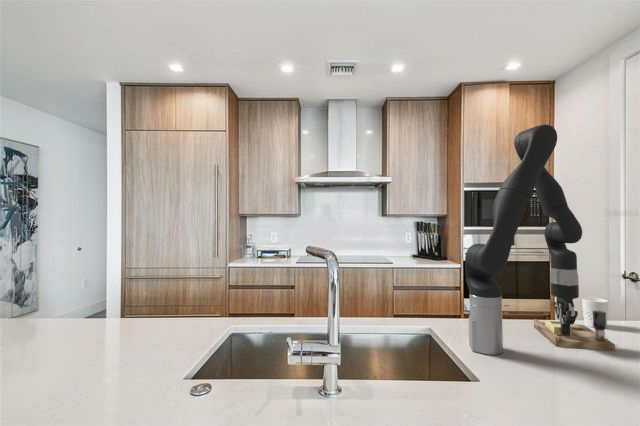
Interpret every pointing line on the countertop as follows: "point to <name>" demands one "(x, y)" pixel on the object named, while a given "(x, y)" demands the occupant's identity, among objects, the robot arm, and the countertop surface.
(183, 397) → the countertop surface
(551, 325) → the stud finder
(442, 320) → the countertop surface
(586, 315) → the white cup
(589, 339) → the board
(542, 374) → the countertop surface
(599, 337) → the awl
